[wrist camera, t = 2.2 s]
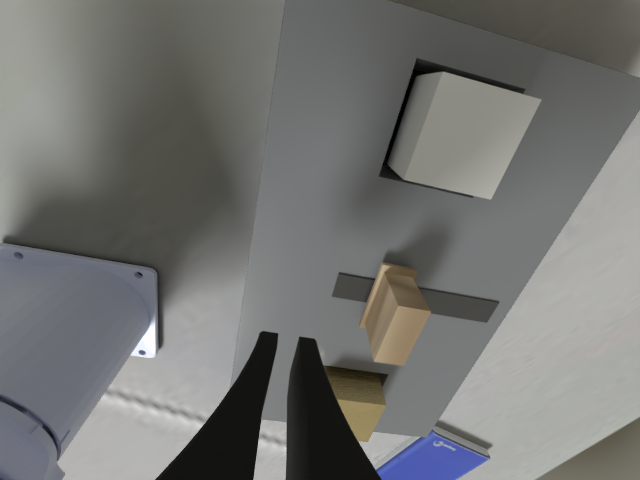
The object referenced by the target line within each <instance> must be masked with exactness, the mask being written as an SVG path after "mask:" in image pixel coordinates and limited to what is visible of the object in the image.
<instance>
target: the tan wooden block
mask: <svg viewBox="0 0 640 480" xmlns="http://www.w3.org/2000/svg"><path fill="white" fill-rule="evenodd" d="M417 273H418V270H417V269H416V268H411V267H405V266H400V265H395V264H389V263H384V262H382V263H381V265H380V268H379V271H378V273H377V276H376V279H375V281H374V284H373V287H372V289H371V292H370V295H369V297H368V300H367V303H366V305H365V308H364V311H363V314H362V316H361V319H360V322H359V327H361V328H366V331H367V335H368V339H369V343H370V347H371V352H372V356H373V360H374V362H380V363H387V364H394V365H401V366H404V365H405V363H406V361H407V359H408V357H409V355H410V353H411V351H412V349H413V347H414V345H415V343H416V341H417V339H418V337H419V335H420V333H421V331H422V329H423V327H424V325H425V323H426V321H427V319H428V317H429V315H430V313H431V310H430V308H429V307H428V305H427V303H426V301H425V299H424V298H423V296H422V294H421V292H420V290H419V289H418V287H417V285H416V283H415V281H414V280H415V278H416V276H417Z"/></svg>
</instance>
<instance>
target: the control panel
mask: <svg viewBox="0 0 640 480" xmlns="http://www.w3.org/2000/svg"><path fill="white" fill-rule="evenodd" d="M413 69H416V70H420V71H423V72H427V73H437V72H446V73H450V74H453V75H457V76H460V77H464V78H468V79H471V80H475V81H478V82H482V83H485V84H489V85H492V86H496V87H499V88H503V89H506V90H510V91H513V92H517V93H520V94H524V95H527V96H531V97H535V98H538V99H542V100H541V102H540V104H539V106H538V108H537V110H536V112H535V114H534V116H533V118H532V120H531V122H530V124H529V126H528V128H527V130H526V132H525V134H524V136H523V138H522V140H521V141H520V143H519V145H518V147H517V149H516V151H515V153H514V155H513V157H512V159H511V161H510V163H509V165H508V167H507V169H506V171H505V173H504V175H503V177H502V179H501V181H500V183H499V185H498V187H497V189H496V191H495V193H494V195H493V197H492V199H491V200H490V199H486V198H481V197H477V196H472V195H468V194H464V193H459V192H455V191H450V190H446V189H442V188H437V187H433V186H429V185H424V184H420V183H415V182H411V181H407V180H403V179H402V178H401V177H400V176H399V175H398V174H397V173H396V172H395V171H394V170H393V169H390V168H386V167H382V164H383V161H384V158H385V155H386V152H387V149H388V146H389V143H390V140H391V136H392V133H393V130H394V127H395V124H396V121H397V118H398V115H399V111H400V108H401V105H402V102H403V99H404V96H405V93H406V90H407V87H408V83H409V80H410V77H411V74H412V71H413ZM639 110H640V78H639V77H636V76H632V75H629V74H626V73H623V72H619V71H616V70H613V69H610V68H606V67H603V66H600V65H597V64H594V63H590V62H587V61H584V60H581V59H577V58H574V57H571V56H568V55H564V54H561V53H558V52H555V51H551V50H548V49H545V48H542V47H539V46H535V45H532V44H529V43H526V42H522V41H519V40H516V39H513V38H509V37H506V36H503V35H500V34H496V33H493V32H490V31H487V30H484V29H480V28H477V27H474V26H471V25H467V24H464V23H461V22H458V21H454V20H451V19H448V18H445V17H442V16H438V15H435V14H432V13H429V12H425V11H422V10H419V9H416V8H412V7H409V6H406V5H403V4H399V3H396V2H393V1H390V0H286V1H285V8H284V15H283V22H282V29H281V36H280V43H279V50H278V57H277V64H276V71H275V78H274V85H273V92H272V99H271V106H270V113H269V120H268V127H267V134H266V141H265V148H264V155H263V162H262V169H261V176H260V183H259V190H258V197H257V204H256V211H255V218H254V225H253V232H252V239H251V246H250V253H249V260H248V267H247V274H246V281H245V288H244V295H243V302H242V309H241V316H240V323H239V330H238V337H237V344H236V351H235V358H234V365H233V372H232V379H231V386H230V388H231V387H232V385H233V384H234V382H235V381H236V379H237V378H238V376H239V375H240V373H241V371H242V369H243V368H244V366H245V364H246V362H247V361H248V359H249V357H250V355H251V353H252V351H253V349H254V347H255V345H256V342H257V340H258V337H259V333H260V332H262V331H267V332H273V333H278V344H277V351H276V355H275V360H274V364H273V368H272V373H271V377H270V382H269V386H268V390H267V395H266V399H265V403H264V407H263V411H262V417H261V419H263V420H272V421H281V422H287V394H288V385H289V376H290V370H291V366H292V362H293V358H294V355H295V351H296V347H297V343H298V340H299V336H300V337H307V338H314V339H315V340H316V341H317V346H318V349H319V353H320V356H321V359H322V362H323V365H325V366H333V367H340V368H347V369H354V370H362V371H369V372H376V373H379V378H380V382H381V386H382V390H383V394H384V398H385V402H386V407H385V409H384V411H383V413H382V415H381V417H380V419H379V421H378V423H377V425H376V427H375V429H374V431H373V432H381V433H390V434H399V435H408V436H417V437H426V438H427V437H428V435H429V433H430V432H431V430H432V429H433V427H434V426H435V424H436V423H437V421H438V420H439V418H440V416H441V415H442V413H443V412H444V410H445V409H446V407H447V406H448V404H449V403H450V401H451V400H452V398H453V396H454V395H455V393H456V392H457V390H458V389H459V387H460V386H461V384H462V383H463V381H464V380H465V378H466V376H467V375H468V373H469V372H470V370H471V369H472V367H473V366H474V364H475V363H476V361H477V360H478V358H479V356H480V355H481V353H482V352H483V350H484V349H485V347H486V346H487V344H488V343H489V341H490V340H491V338H492V336H493V335H494V333H495V332H496V330H497V329H498V327H499V326H500V324H501V323H502V321H503V320H504V318H505V316H506V315H507V313H508V312H509V310H510V309H511V307H512V306H513V304H514V303H515V301H516V299H517V298H518V296H519V295H520V293H521V292H522V290H523V289H524V287H525V286H526V284H527V283H528V281H529V279H530V278H531V276H532V275H533V273H534V272H535V270H536V269H537V267H538V266H539V264H540V263H541V261H542V259H543V258H544V256H545V255H546V253H547V252H548V250H549V249H550V247H551V246H552V244H553V243H554V241H555V239H556V238H557V236H558V235H559V233H560V232H561V230H562V229H563V227H564V226H565V224H566V223H567V221H568V219H569V218H570V216H571V215H572V213H573V212H574V210H575V209H576V207H577V206H578V204H579V202H580V201H581V199H582V198H583V196H584V195H585V193H586V192H587V190H588V189H589V187H590V186H591V184H592V182H593V181H594V179H595V178H596V176H597V175H598V173H599V172H600V170H601V169H602V167H603V166H604V164H605V162H606V161H607V159H608V158H609V156H610V155H611V153H612V152H613V150H614V149H615V147H616V146H617V144H618V142H619V141H620V139H621V138H622V136H623V135H624V133H625V132H626V130H627V129H628V127H629V126H630V124H631V122H632V121H633V119H634V118H635V116H636V115H637V113H638V112H639ZM382 262H384V263H389V264H395V265H400V266H405V267H411V268H416V269H417V270H418V273H417V276H416V278H415V280H414V281H415V283H416V285H417V287H418V289H419V290H420V292H421V294H422V296H423V298H424V299H425V301H426V303H427V305H428V307H429V308H430V310H431V313H430V315H429V317H428V319H427V321H426V323H425V325H424V327H423V329H422V331H421V333H420V335H419V337H418V339H417V341H416V343H415V345H414V347H413V349H412V351H411V353H410V355H409V357H408V359H407V361H406V363H405V365H404V366H401V365H394V364H387V363H380V362H374V360H373V356H372V352H371V347H370V343H369V339H368V335H367V331H366V328H361V327H359V322H360V319H361V316H362V314H363V311H364V308H365V305H366V303H367V300H368V297H369V295H370V292H371V289H372V287H373V284H374V281H375V279H376V276H377V273H378V271H379V268H380V265H381V263H382Z"/></svg>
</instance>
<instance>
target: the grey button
mask: <svg viewBox="0 0 640 480" xmlns="http://www.w3.org/2000/svg"><path fill="white" fill-rule="evenodd" d="M541 100H542V99H538V98H535V97H531V96H527V95H524V94H520V93H517V92H513V91H510V90H506V89H503V88H499V87H496V86H492V85H489V84H485V83H482V82H478V81H475V80H471V79H468V78H464V77H460V76H457V75H453V74H450V73H446V72H437V73H431V74H424V75H418V76H416V77H415V80H414V83H413V86H412V89H411V92H410V95H409V98H408V101H407V104H406V107H405V110H404V114H403V117H402V120H401V123H400V126H399V129H398V132H397V135H396V138H395V141H394V144H393V147H392V150H391V153H390V156H389V159H388V162H387V165H388V166H389V167H391V168H392V169H393V170H394V171H395V172H396V173H397V174H398V175H399V176H400V177H401V178H402V179H403V180H407V181H411V182H415V183H420V184H424V185H429V186H433V187H437V188H442V189H446V190H450V191H455V192H459V193H464V194H468V195H472V196H477V197H481V198H486V199H490V200H491V199H492V197H493V195H494V193H495V191H496V189H497V187H498V185H499V183H500V181H501V179H502V177H503V175H504V173H505V171H506V169H507V167H508V165H509V163H510V161H511V159H512V157H513V155H514V153H515V151H516V149H517V147H518V145H519V143H520V141H521V140H522V138H523V136H524V134H525V132H526V130H527V128H528V126H529V124H530V122H531V120H532V118H533V116H534V114H535V112H536V110H537V108H538V106H539V104H540V102H541Z"/></svg>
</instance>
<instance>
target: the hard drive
mask: <svg viewBox="0 0 640 480" xmlns="http://www.w3.org/2000/svg"><path fill="white" fill-rule="evenodd" d="M488 459H490V456H489V453H488V451H487V449H485V448H483V447H481V446H479V445H476V444H474V443H472V442H470V441H468V440H466V439H463V438H461V437H459V436H457V435H455V434H453V433H450V432H448V431H446V430H444V429H442V428H439V427H437V426H434V427H433V429H432V430H431V432H430V433H429V435H428V437H427V438H426V437H417V436H412V437H411V438H409V439H408V440H407V441H405V442H404V443H402V444H401V445H400V446H398V447H397V448H396V449H394V450H393V451H392V452H390V453H389V454H388V455H386V456H385V457H384V458H382V459H381V460H380V461H378V462H377V463H376V464H374V465H373V467H374V468H375V470H376V471H377V473H378V474H379V476H380V477H381V479H382V480H456V479H458V478H459V477H461V476H463V475H464V474H466V473H468V472H469V471H471V470H472V469H474V468H476V467H478V466H479V465H481V464H482V463H484V462H486V461H487V460H488Z"/></svg>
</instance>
